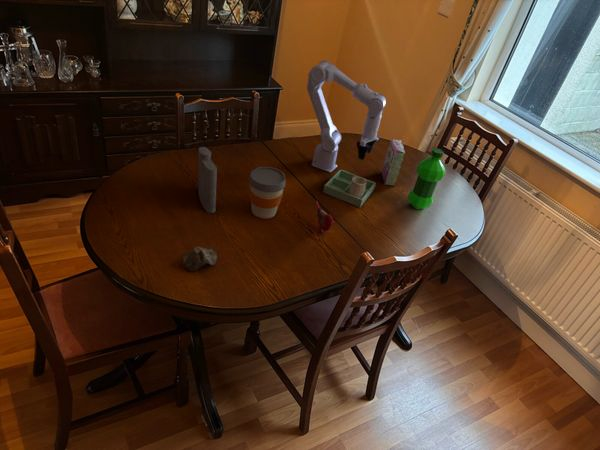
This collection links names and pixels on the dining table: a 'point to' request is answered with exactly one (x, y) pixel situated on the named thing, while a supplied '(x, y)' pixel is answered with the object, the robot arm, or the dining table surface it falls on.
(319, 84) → the robot arm
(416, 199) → the plastic bottle
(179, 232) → the dining table surface
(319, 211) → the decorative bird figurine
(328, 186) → the green divided tray
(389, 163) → the candy bar box
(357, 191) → the paper cup
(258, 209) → the reusable coffee cup
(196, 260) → the grey lumpy rock
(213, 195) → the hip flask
